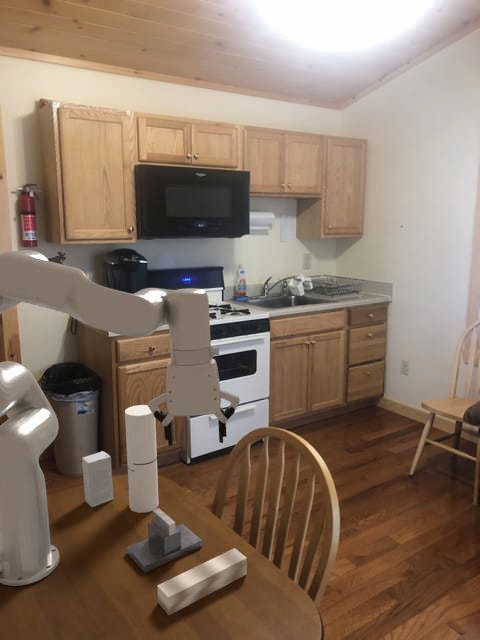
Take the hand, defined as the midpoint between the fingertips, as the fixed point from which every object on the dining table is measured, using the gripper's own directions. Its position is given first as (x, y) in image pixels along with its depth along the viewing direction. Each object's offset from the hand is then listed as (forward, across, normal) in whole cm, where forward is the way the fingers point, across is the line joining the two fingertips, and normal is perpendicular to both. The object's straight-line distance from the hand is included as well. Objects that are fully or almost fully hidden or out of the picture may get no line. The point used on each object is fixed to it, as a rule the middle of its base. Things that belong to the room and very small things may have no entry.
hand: (196, 441), depth 100 cm
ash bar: (+29, 0, +4) cm, 29 cm away
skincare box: (+28, +28, -29) cm, 48 cm away
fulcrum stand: (+28, +9, -8) cm, 30 cm away
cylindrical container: (+28, +16, -26) cm, 41 cm away
